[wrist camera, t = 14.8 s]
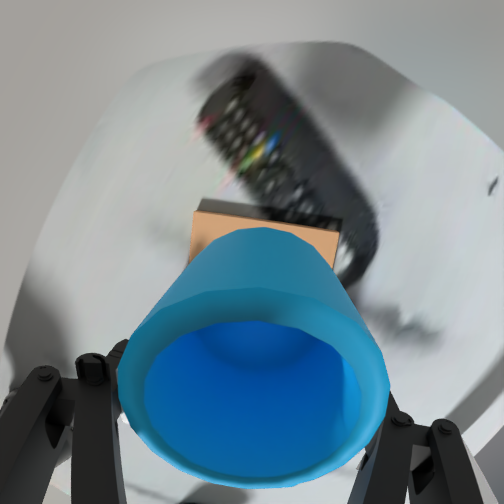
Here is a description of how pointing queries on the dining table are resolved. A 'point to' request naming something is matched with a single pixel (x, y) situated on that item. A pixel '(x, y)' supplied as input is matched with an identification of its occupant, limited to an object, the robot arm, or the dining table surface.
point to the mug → (254, 366)
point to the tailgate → (219, 224)
